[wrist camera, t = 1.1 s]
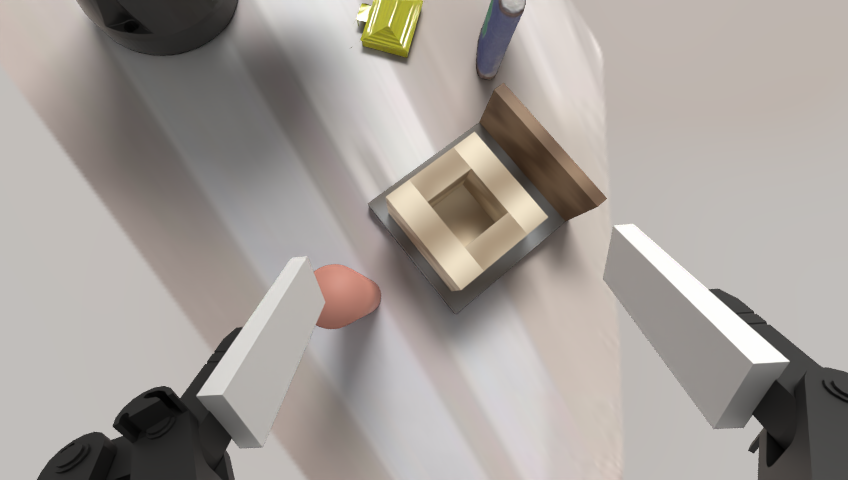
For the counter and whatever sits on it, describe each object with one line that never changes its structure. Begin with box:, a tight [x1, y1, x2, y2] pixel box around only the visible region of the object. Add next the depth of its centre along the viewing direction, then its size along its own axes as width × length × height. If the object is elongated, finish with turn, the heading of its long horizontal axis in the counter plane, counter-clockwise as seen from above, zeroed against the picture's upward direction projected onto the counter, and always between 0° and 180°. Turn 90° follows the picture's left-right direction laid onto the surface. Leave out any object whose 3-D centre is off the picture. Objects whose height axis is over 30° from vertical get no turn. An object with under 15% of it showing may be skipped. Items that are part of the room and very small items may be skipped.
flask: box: [476, 0, 526, 80], centre depth 32 cm, size 9×3×11 cm, turn 168°
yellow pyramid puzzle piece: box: [351, 0, 423, 58], centre depth 36 cm, size 10×9×3 cm
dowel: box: [314, 264, 381, 329], centre depth 24 cm, size 4×4×14 cm
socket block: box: [386, 132, 548, 291], centre depth 29 cm, size 10×10×5 cm
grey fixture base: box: [368, 83, 607, 314], centre depth 30 cm, size 14×16×6 cm
